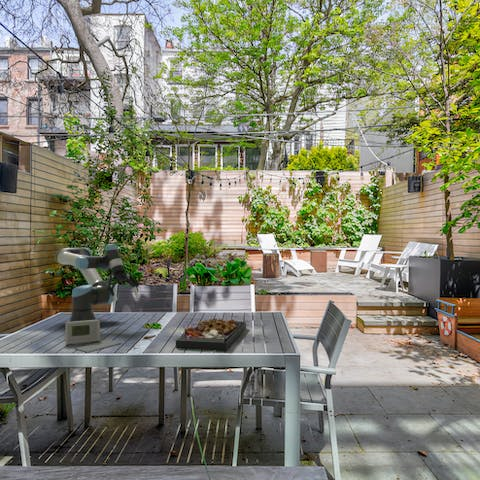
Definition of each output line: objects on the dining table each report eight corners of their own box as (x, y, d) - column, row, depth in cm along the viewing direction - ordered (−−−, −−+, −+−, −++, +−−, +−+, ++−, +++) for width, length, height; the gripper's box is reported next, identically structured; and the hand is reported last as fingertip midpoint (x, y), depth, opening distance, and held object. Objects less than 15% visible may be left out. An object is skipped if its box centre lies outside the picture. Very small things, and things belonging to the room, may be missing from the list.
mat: (75, 349, 172) (75, 348, 172) (108, 340, 187) (108, 339, 187) (87, 352, 167) (87, 351, 167) (120, 343, 181) (120, 342, 181)
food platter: (226, 352, 168) (226, 330, 168) (175, 349, 173) (175, 327, 173) (245, 329, 212) (245, 311, 212) (205, 327, 217) (205, 310, 217)
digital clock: (63, 345, 178) (63, 323, 178) (67, 341, 187) (67, 320, 187) (98, 343, 182) (98, 322, 182) (101, 339, 191) (101, 318, 191)
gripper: (99, 266, 213) (109, 299, 206) (138, 262, 231) (148, 293, 223) (95, 272, 218) (104, 304, 210) (133, 268, 235) (143, 298, 228)
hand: (127, 298), depth 217 cm, fingers open, 13 cm apart
